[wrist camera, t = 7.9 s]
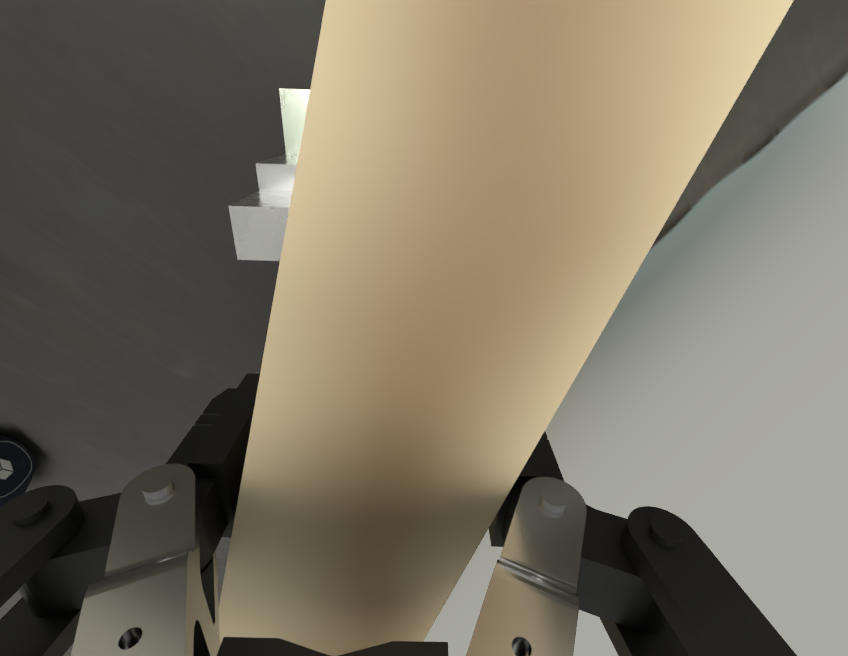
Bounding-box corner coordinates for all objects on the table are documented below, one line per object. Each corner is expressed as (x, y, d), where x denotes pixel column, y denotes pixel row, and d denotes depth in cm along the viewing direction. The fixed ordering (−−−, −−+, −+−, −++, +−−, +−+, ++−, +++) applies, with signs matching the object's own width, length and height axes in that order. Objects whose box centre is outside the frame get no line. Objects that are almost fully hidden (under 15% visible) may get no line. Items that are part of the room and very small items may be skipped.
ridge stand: (304, 276, 31) (253, 351, 22) (286, 89, 26) (206, 76, 16) (546, 282, 32) (604, 359, 22) (578, 101, 26) (673, 95, 17)
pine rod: (244, 617, 19) (189, 775, 14) (469, -377, 7) (565, -1364, 2) (355, 636, 19) (335, 792, 15) (740, -231, 7) (1226, -748, 3)
